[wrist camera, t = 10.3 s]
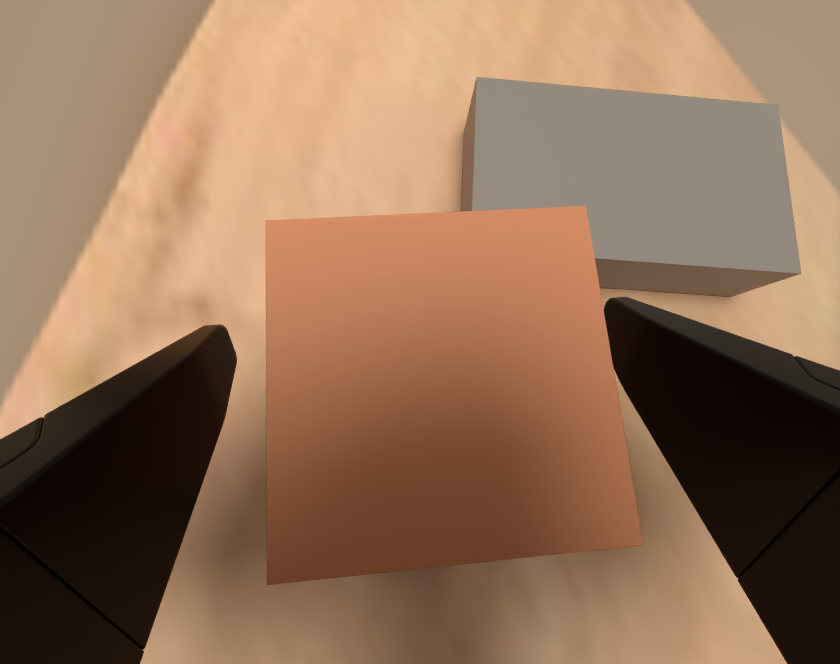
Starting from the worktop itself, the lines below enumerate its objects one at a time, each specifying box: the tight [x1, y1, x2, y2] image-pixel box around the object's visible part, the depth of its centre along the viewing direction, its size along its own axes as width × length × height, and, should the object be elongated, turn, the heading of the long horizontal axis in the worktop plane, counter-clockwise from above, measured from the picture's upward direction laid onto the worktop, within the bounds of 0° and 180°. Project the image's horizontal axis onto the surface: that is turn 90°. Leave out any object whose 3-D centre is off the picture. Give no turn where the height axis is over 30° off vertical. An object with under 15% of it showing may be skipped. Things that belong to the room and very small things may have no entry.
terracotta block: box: [266, 206, 643, 585], centre depth 10 cm, size 5×5×9 cm
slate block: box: [461, 77, 801, 297], centre depth 16 cm, size 7×12×3 cm, turn 87°
